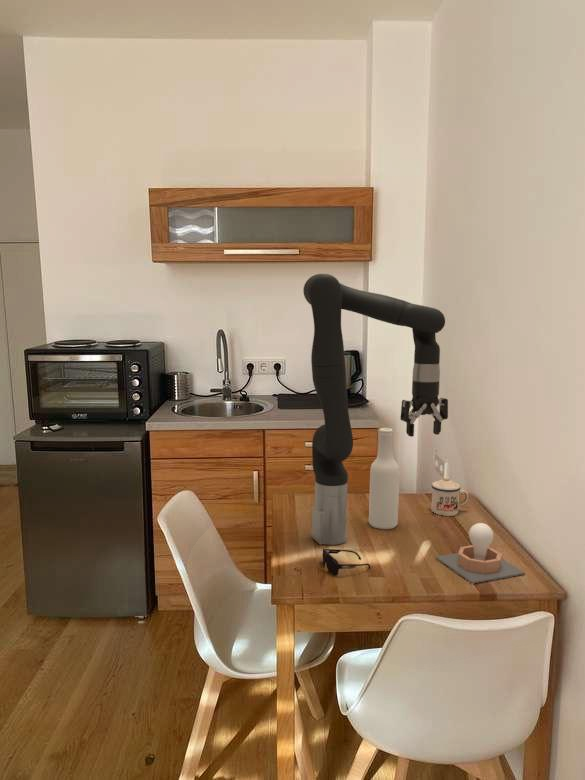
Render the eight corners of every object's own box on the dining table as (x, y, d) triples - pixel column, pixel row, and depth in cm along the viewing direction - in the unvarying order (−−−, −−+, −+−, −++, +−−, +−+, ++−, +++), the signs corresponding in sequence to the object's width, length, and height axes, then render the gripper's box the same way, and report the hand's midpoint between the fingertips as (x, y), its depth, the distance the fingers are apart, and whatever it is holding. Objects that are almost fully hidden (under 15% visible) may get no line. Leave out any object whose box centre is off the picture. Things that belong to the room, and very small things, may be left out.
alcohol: (395, 519, 200) (399, 426, 195) (399, 530, 191) (403, 432, 186) (367, 519, 200) (370, 425, 195) (369, 529, 191) (372, 432, 187)
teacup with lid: (434, 516, 203) (436, 481, 201) (427, 507, 212) (428, 473, 210) (471, 516, 203) (473, 481, 202) (463, 507, 212) (464, 473, 210)
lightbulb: (494, 569, 164) (497, 528, 162) (470, 568, 164) (472, 528, 162) (487, 559, 170) (490, 519, 168) (464, 558, 170) (466, 519, 168)
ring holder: (472, 584, 156) (473, 570, 156) (435, 558, 171) (436, 546, 170) (524, 574, 162) (525, 561, 161) (484, 550, 177) (485, 538, 176)
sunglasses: (315, 562, 169) (318, 543, 168) (356, 561, 173) (359, 544, 172) (331, 578, 159) (333, 559, 158) (373, 578, 163) (376, 559, 163)
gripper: (411, 382, 174) (408, 439, 177) (455, 379, 179) (452, 436, 182) (397, 378, 181) (395, 434, 184) (439, 376, 186) (437, 430, 189)
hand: (423, 435), depth 183 cm, fingers open, 8 cm apart
